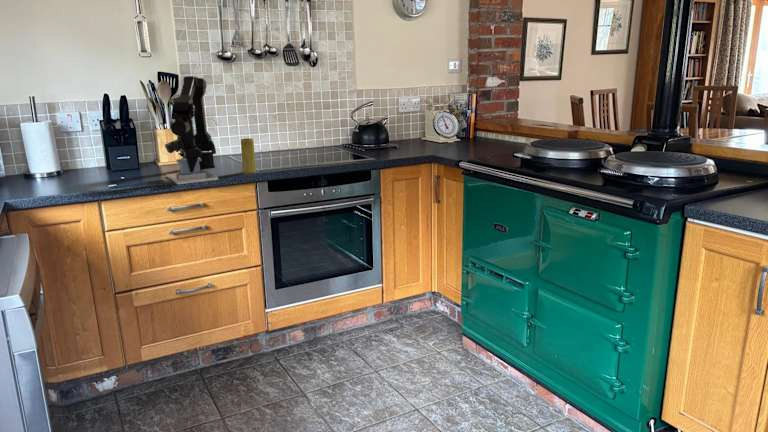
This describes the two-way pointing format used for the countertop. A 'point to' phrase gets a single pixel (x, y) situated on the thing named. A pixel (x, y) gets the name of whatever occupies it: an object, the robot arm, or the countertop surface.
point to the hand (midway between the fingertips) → (190, 171)
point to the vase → (248, 156)
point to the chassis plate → (192, 177)
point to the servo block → (185, 168)
